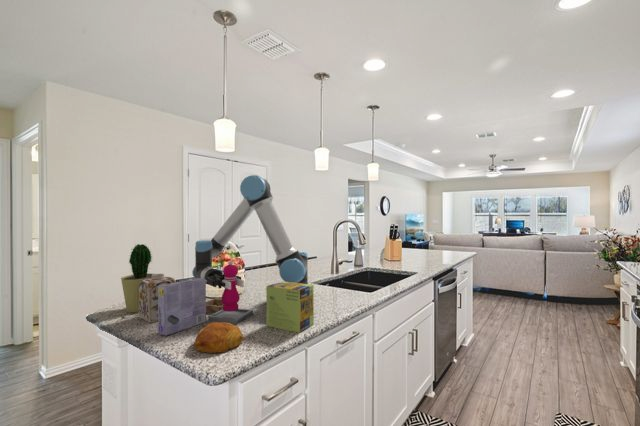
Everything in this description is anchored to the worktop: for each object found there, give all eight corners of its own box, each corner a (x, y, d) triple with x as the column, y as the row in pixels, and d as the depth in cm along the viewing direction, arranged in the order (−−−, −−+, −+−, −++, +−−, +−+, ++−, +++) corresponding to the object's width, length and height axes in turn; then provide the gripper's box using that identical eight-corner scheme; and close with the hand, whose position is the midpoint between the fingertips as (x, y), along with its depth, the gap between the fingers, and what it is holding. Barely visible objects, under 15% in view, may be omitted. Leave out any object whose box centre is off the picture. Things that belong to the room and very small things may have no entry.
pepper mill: (218, 309, 136) (218, 261, 136) (233, 305, 141) (233, 259, 141) (227, 313, 131) (227, 262, 131) (243, 309, 136) (242, 260, 136)
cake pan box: (200, 319, 135) (200, 276, 135) (209, 321, 132) (208, 277, 132) (156, 334, 118) (156, 285, 118) (165, 337, 116) (164, 286, 116)
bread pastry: (214, 340, 118) (212, 318, 118) (250, 341, 112) (248, 317, 112) (183, 356, 104) (180, 330, 105) (222, 357, 98) (219, 330, 99)
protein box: (300, 333, 119) (300, 290, 119) (265, 326, 126) (265, 285, 126) (314, 324, 128) (314, 284, 128) (281, 318, 135) (281, 280, 135)
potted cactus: (114, 314, 142) (113, 244, 142) (131, 304, 157) (130, 241, 157) (151, 313, 143) (150, 244, 143) (164, 303, 158) (164, 241, 158)
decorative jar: (148, 323, 130) (148, 278, 130) (138, 317, 138) (137, 274, 138) (178, 316, 139) (178, 273, 139) (167, 311, 146) (166, 270, 146)
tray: (253, 314, 140) (253, 309, 140) (236, 324, 128) (236, 319, 128) (226, 311, 144) (226, 307, 144) (208, 321, 132) (208, 316, 132)
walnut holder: (235, 306, 152) (235, 300, 152) (220, 313, 142) (220, 306, 142) (214, 304, 156) (214, 298, 156) (199, 311, 145) (199, 304, 145)
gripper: (230, 281, 156) (256, 290, 138) (192, 287, 144) (215, 298, 126) (230, 266, 156) (256, 272, 138) (192, 270, 144) (215, 278, 126)
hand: (236, 284), depth 132 cm, fingers closed on pepper mill, 5 cm apart
